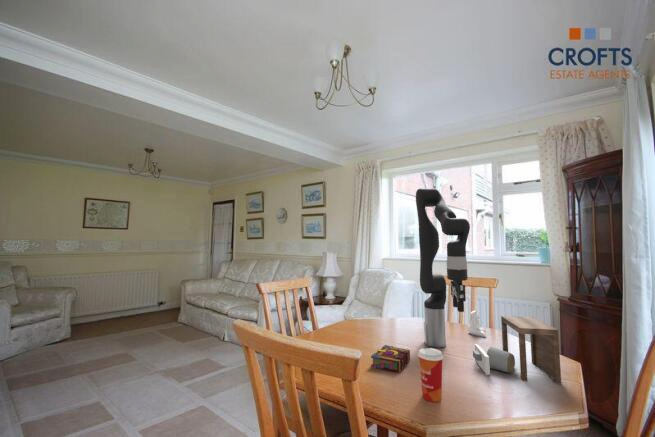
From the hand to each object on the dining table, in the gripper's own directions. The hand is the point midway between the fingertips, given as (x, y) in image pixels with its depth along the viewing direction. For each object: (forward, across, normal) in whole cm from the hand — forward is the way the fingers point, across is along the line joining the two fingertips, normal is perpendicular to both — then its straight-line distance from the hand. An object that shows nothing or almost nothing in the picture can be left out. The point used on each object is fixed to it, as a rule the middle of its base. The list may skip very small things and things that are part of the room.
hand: (458, 309), depth 120 cm
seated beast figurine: (+22, -46, +19) cm, 54 cm away
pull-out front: (+22, 0, +7) cm, 23 cm away
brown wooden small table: (+22, 0, +24) cm, 33 cm away
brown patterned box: (+22, +2, -27) cm, 35 cm away
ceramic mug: (+22, 0, +15) cm, 27 cm away
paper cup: (+22, +27, -14) cm, 38 cm away
